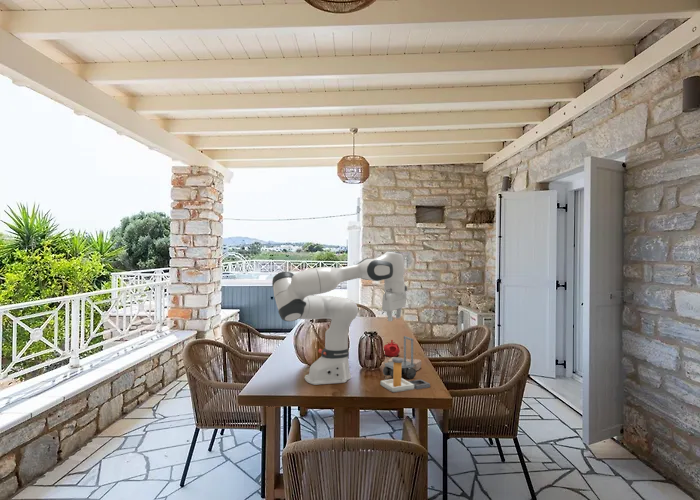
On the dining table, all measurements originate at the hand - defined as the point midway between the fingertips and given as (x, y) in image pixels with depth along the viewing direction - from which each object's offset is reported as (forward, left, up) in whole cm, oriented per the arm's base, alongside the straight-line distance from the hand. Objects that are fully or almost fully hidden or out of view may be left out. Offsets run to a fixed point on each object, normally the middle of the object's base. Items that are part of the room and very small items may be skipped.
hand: (394, 319), depth 175 cm
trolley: (+12, +15, -31) cm, 37 cm away
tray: (+3, +3, -31) cm, 31 cm away
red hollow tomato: (+30, +54, -31) cm, 69 cm away
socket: (+13, +1, -31) cm, 34 cm away
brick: (+23, +29, -32) cm, 49 cm away
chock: (+4, +12, -31) cm, 34 cm away
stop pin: (+3, +3, -30) cm, 31 cm away
